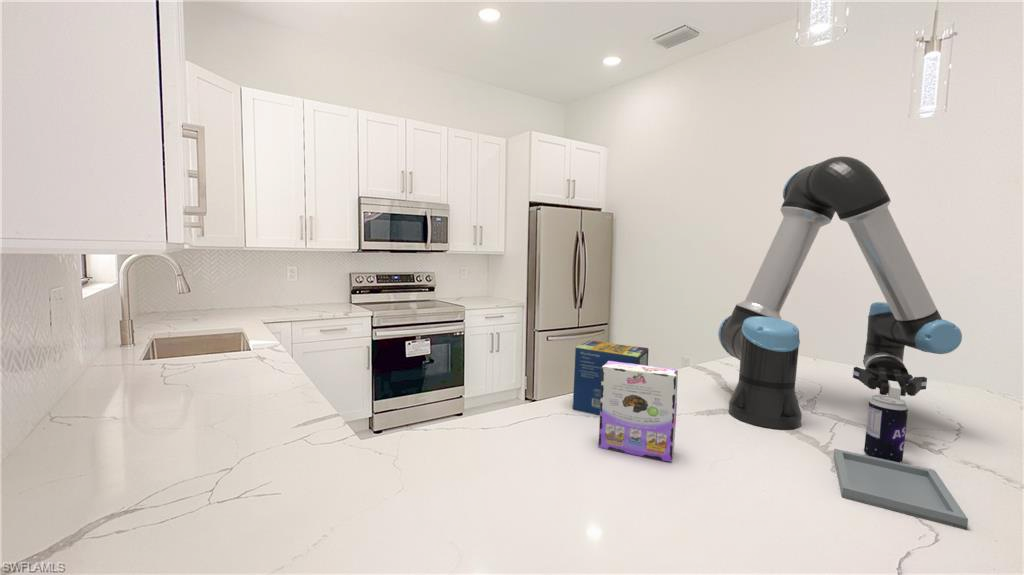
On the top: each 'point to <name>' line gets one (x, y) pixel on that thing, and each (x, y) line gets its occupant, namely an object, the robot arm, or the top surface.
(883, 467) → the tray
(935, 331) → the robot arm
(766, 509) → the top surface
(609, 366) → the candy box
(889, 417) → the beverage can
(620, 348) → the protein box
